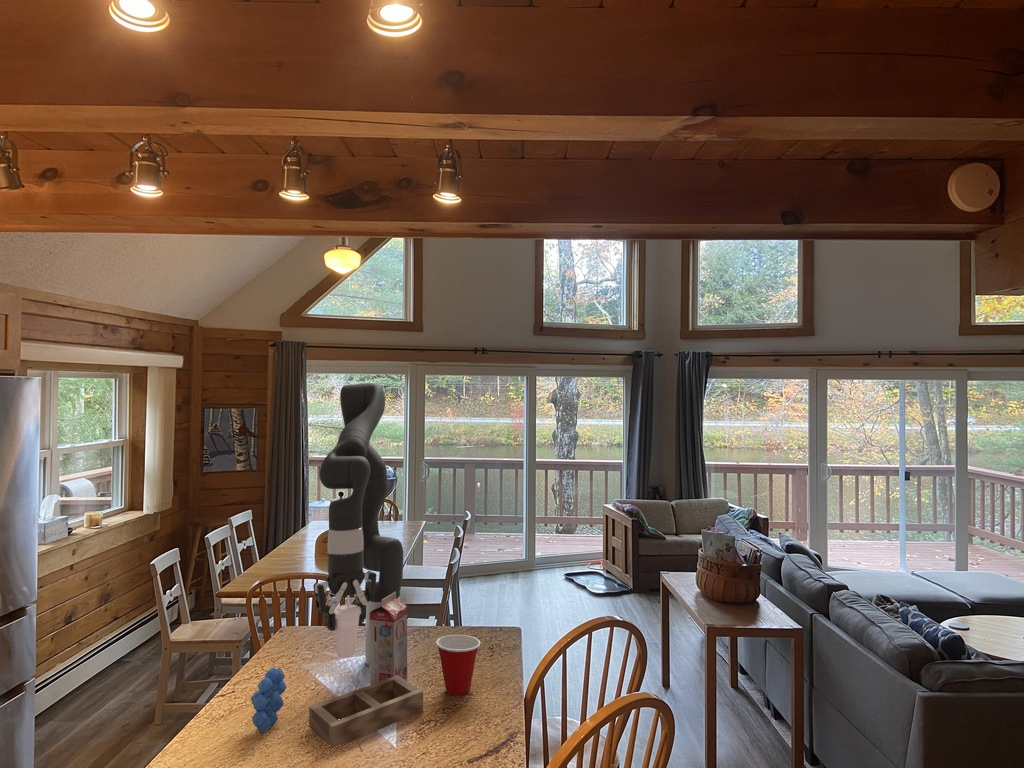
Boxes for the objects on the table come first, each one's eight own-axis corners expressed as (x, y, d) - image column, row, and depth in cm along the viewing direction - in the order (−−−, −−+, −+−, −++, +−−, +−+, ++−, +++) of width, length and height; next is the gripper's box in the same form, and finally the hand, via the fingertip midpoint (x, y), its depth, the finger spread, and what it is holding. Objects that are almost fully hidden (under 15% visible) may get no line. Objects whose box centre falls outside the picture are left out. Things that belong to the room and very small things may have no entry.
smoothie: (353, 661, 131) (352, 595, 131) (325, 659, 132) (324, 593, 132) (366, 649, 137) (366, 585, 137) (339, 647, 138) (339, 584, 139)
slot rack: (397, 693, 149) (397, 675, 149) (423, 711, 141) (423, 691, 141) (309, 727, 134) (309, 706, 134) (332, 749, 126) (332, 726, 126)
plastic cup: (490, 689, 151) (489, 639, 151) (457, 705, 143) (456, 653, 143) (460, 675, 158) (459, 628, 159) (427, 690, 151) (426, 641, 151)
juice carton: (407, 680, 156) (406, 592, 156) (393, 693, 150) (393, 601, 150) (384, 677, 158) (383, 590, 158) (370, 688, 152) (369, 598, 152)
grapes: (264, 711, 141) (264, 658, 142) (293, 713, 141) (292, 659, 141) (236, 740, 130) (235, 682, 130) (266, 741, 129) (266, 683, 129)
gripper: (366, 539, 142) (367, 613, 142) (306, 551, 133) (306, 629, 133) (383, 545, 137) (384, 622, 137) (321, 557, 127) (322, 639, 127)
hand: (346, 625), depth 135 cm, fingers closed on smoothie, 6 cm apart
